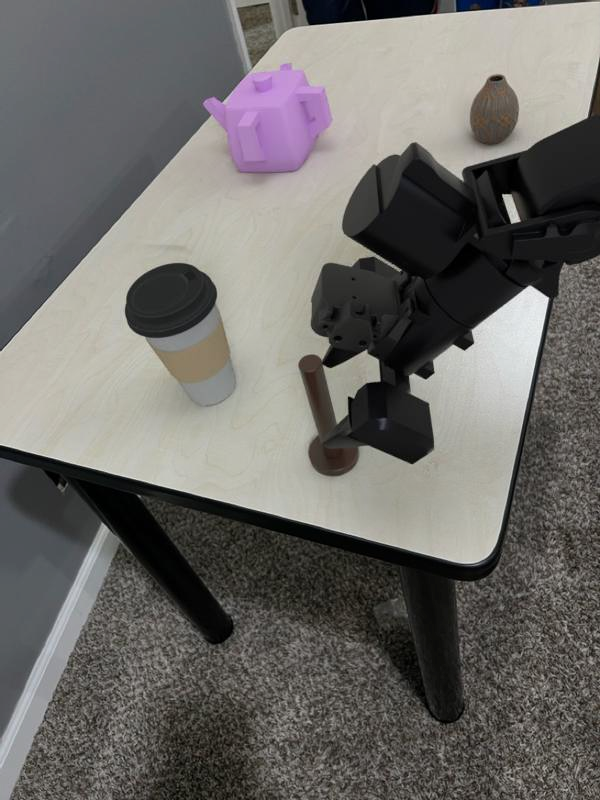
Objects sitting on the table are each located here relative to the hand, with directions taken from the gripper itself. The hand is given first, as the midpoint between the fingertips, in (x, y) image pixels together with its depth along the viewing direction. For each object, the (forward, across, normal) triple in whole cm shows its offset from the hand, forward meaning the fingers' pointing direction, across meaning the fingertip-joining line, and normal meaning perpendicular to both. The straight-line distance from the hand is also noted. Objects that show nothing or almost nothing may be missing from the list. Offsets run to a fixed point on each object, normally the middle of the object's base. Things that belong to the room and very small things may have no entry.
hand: (325, 403), depth 54 cm
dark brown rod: (+6, 0, +6) cm, 8 cm away
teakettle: (+13, -63, -1) cm, 64 cm away
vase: (-11, -55, +23) cm, 61 cm away
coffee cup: (+17, -11, -4) cm, 20 cm away
